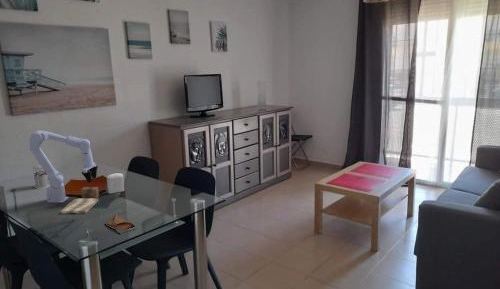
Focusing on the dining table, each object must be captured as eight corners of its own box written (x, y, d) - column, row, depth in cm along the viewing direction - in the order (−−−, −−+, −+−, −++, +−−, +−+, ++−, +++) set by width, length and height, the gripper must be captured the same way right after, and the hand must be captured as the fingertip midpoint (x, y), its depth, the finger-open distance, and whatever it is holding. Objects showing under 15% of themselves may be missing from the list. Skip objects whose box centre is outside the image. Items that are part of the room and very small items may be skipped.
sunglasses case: (102, 224, 199) (107, 211, 200) (113, 226, 204) (118, 214, 205) (120, 234, 187) (125, 221, 188) (131, 237, 192) (137, 224, 194)
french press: (39, 189, 249) (34, 153, 243) (29, 186, 255) (24, 150, 249) (53, 185, 257) (48, 149, 251) (43, 182, 263) (38, 147, 257)
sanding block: (82, 198, 235) (81, 189, 233) (84, 196, 238) (83, 187, 237) (96, 198, 235) (95, 189, 233) (99, 196, 239) (98, 187, 237)
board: (60, 213, 212) (60, 211, 212) (75, 200, 231) (74, 198, 230) (85, 213, 212) (85, 210, 212) (98, 200, 231) (98, 198, 230)
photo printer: (123, 189, 250) (121, 171, 247) (125, 191, 247) (123, 173, 244) (107, 192, 245) (105, 174, 242) (108, 194, 241) (107, 175, 238)
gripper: (89, 162, 223) (94, 183, 227) (98, 155, 237) (102, 175, 241) (77, 163, 223) (82, 184, 227) (87, 156, 237) (91, 176, 241)
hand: (92, 180), depth 234 cm, fingers open, 7 cm apart
